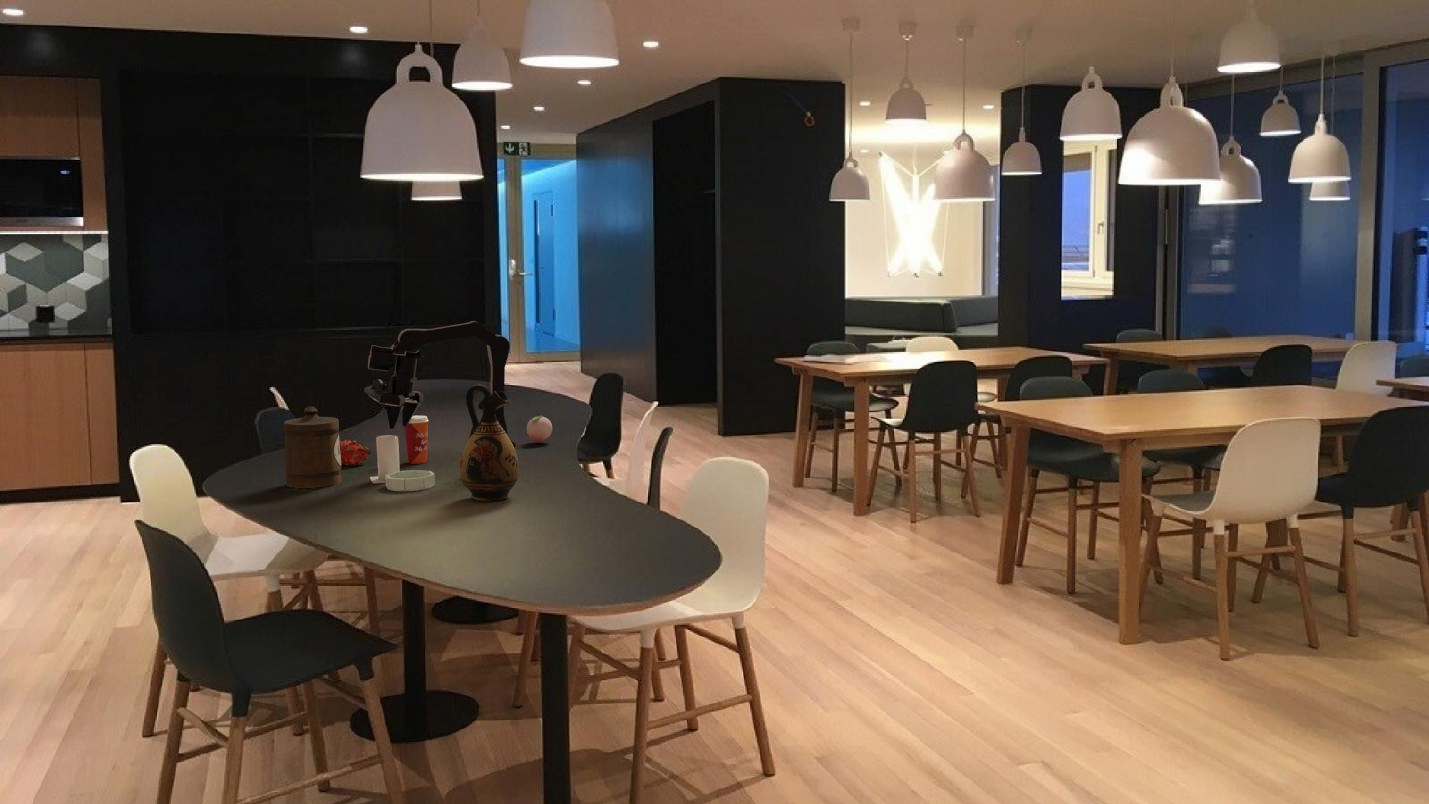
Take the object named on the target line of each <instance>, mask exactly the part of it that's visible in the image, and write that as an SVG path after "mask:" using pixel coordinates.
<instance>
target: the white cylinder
mask: <svg viewBox="0 0 1429 804" xmlns="http://www.w3.org/2000/svg"><path fill="white" fill-rule="evenodd" d="M375 440H376V457H377V460H376V461H377V476H378V480H381V481H385V475H387V474H390V473H394V472H398V471H401V468H400V466H401V464H400V451H399V450H400V449H399V448H400V447H399V445H400V444H399V436H398V435H395V434H394V435H393V434H392V435H388V434H385V435H379V436H376V438H375Z"/></svg>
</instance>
